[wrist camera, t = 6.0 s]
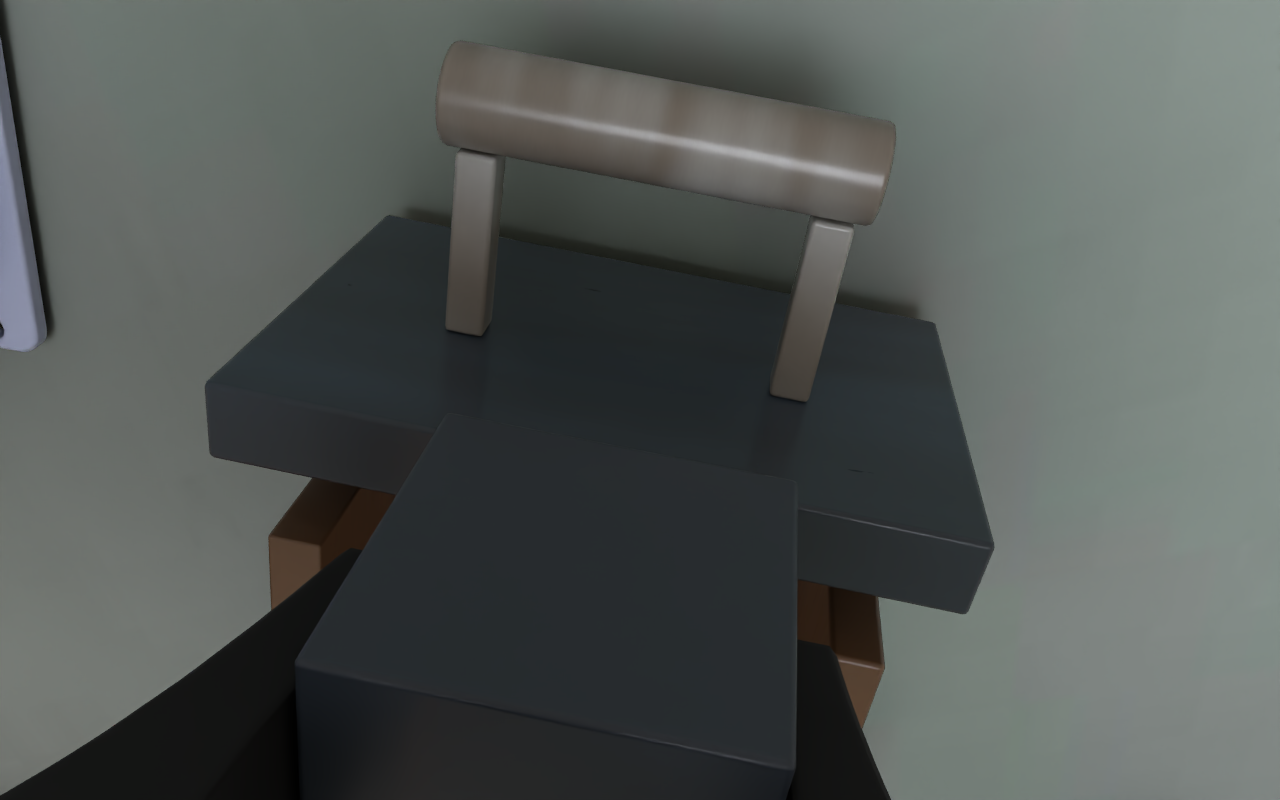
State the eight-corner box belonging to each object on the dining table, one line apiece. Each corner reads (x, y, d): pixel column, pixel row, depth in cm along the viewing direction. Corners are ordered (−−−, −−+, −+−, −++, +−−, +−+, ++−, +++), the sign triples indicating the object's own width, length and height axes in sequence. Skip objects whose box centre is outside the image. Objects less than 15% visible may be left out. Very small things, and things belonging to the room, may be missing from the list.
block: (432, 667, 13) (303, 959, 10) (446, 408, 11) (290, 660, 8) (732, 731, 13) (707, 1051, 10) (799, 479, 11) (798, 769, 8)
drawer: (392, -25, 17) (176, 51, 11) (1012, 90, 17) (1128, 232, 11) (373, 687, 25) (244, 945, 20) (785, 778, 25) (779, 1070, 19)
